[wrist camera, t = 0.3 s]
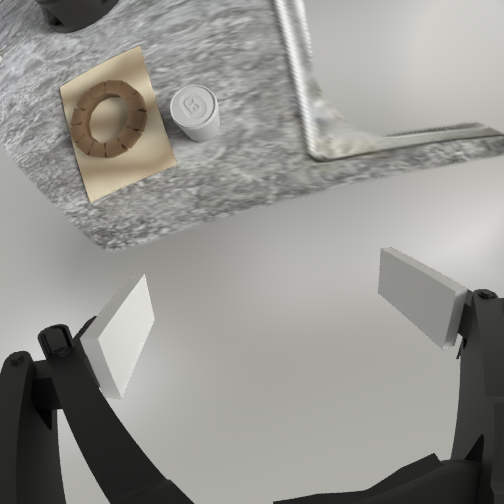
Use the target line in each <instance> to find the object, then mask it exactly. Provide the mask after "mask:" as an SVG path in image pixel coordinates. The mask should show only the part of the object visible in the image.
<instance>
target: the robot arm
mask: <svg viewBox="0 0 504 504" xmlns="http://www.w3.org/2000/svg"><path fill="white" fill-rule="evenodd" d="M36 1H37V2H38V3H39V4H40V6H41V9H42V12H43V14H44V17H45V20H46V22H47V23H48V25H49V26H51V27H52V28H53V29H55V30H56V31H58V32H62V33H68V32H74V31H78V30H81V29H83V28H85V27H87V26H89V25H91V24H93V23H95V22H96V21H98V20H99V19H100V18H102V17H103V16H104V15H106V14H107V13H108V12H109V11H110V10H111V9H112V8H113V7H114V6H115V5H116V4H117V2H118V1H119V0H36ZM378 293H379V294H380V295H381V296H383V298H385V299H386V300H387V301H388V302H389V303H391V304H392V305H393V306H394V307H395V308H396V309H398V310H399V311H400V312H401V313H402V314H403V315H404V316H406V317H407V318H408V319H409V320H410V321H411V322H413V323H414V324H415V325H416V326H417V327H418V328H419V329H420V330H421V331H422V332H424V333H425V334H426V335H427V336H428V337H429V338H430V339H431V340H432V341H433V342H435V343H436V344H437V345H438V346H439V347H440V348H441V349H442V350H443V349H446V348H449V347H451V346H454V345H455V342H456V338H457V334H458V333H459V334H460V335H461V336H462V337H463V338H462V342H461V345H460V348H459V352H458V355H457V358H456V359H459V356H461V363H460V389H459V404H458V413H457V422H456V429H455V436H454V443H453V449H452V454H451V458H450V460H443V461H439V460H438V457H437V456H436V455H435V453H433V454H431V455H429V456H427V457H425V458H422V459H420V460H418V461H416V462H413V463H411V464H409V465H407V466H404V467H402V468H400V469H399V470H397V471H396V472H395V473H393V474H392V475H390V476H388V477H387V478H385V479H384V480H382V481H381V482H379V483H378V484H376V485H374V486H373V487H371V488H369V489H367V490H364V491H356V492H343V493H325V494H315V495H310V496H305V497H299V498H294V499H289V500H282V501H275V502H273V504H504V298H498V296H497V295H496V294H495V293H494V292H492V291H490V290H487V289H479V290H475V291H474V292H472V291H470V290H468V288H466V287H465V286H463V285H461V284H459V283H457V282H455V281H454V280H452V279H450V278H449V277H447V276H445V275H443V274H441V273H440V272H437V271H436V270H434V269H432V268H430V267H428V266H427V265H425V264H423V263H421V262H419V261H417V260H415V259H413V258H411V257H409V256H407V255H406V254H404V253H402V252H399V251H398V250H396V249H394V248H392V247H391V248H382V249H381V254H380V275H379V287H378ZM154 320H155V318H154V314H153V311H152V306H151V301H150V297H149V292H148V288H147V284H146V278H145V274H136V275H131V276H130V278H129V279H128V280H127V281H126V282H125V283H124V284H123V286H122V287H121V288H120V289H119V290H118V292H117V293H116V294H115V295H114V296H113V298H112V299H111V300H110V301H109V303H108V304H107V305H106V306H105V307H104V309H103V310H102V311H101V312H100V314H99V315H98V316H94V317H93V318H91V319H90V320H88V321H87V322H86V323H85V324H84V326H83V328H81V329H80V331H79V333H77V334H76V336H75V337H74V338H72V336H71V333H70V330H69V327H68V326H66V325H63V324H58V325H53V326H50V327H48V328H45V329H44V330H42V331H41V332H40V333H39V335H38V341H39V343H40V345H41V348H42V350H43V353H44V355H45V357H46V360H41V361H34V362H33V360H32V357H31V355H30V353H28V352H26V351H19V352H14V353H13V354H10V355H9V357H8V358H6V360H5V361H4V364H3V367H2V370H1V373H0V504H66V500H65V494H64V489H63V482H62V475H61V466H60V457H59V445H58V428H57V409H63V411H64V414H65V416H66V419H67V421H68V424H69V426H70V428H71V431H72V433H73V435H74V437H75V440H76V442H77V444H78V446H79V448H80V450H81V452H82V454H83V456H84V458H85V460H86V462H87V464H88V466H89V468H90V470H91V472H92V473H93V475H94V477H95V479H96V481H97V482H98V484H99V486H100V488H101V489H102V491H103V493H104V494H105V496H106V497H107V499H108V501H109V502H110V504H194V503H193V502H192V501H191V500H190V499H189V498H188V497H187V496H186V495H185V494H184V493H183V492H182V491H181V490H180V489H179V488H178V487H177V486H176V485H175V484H174V483H173V482H172V481H171V480H167V479H166V478H165V477H164V476H163V475H162V474H161V473H160V471H159V470H158V469H157V468H156V467H155V466H154V465H153V463H152V462H151V461H150V460H149V458H148V457H147V456H146V455H145V453H144V452H143V451H142V450H141V448H140V447H139V446H138V445H137V444H136V442H135V441H134V439H133V438H132V437H131V435H130V434H129V433H128V431H127V430H126V429H125V427H124V426H123V424H122V423H121V422H120V420H119V419H118V417H117V416H116V415H115V413H114V411H113V410H112V408H111V407H110V405H109V404H108V402H107V401H106V399H105V398H114V399H122V398H123V395H124V392H125V390H126V387H127V385H128V382H129V380H130V377H131V375H132V372H133V369H134V367H135V365H136V362H137V360H138V357H139V355H140V353H141V350H142V348H143V346H144V343H145V341H146V339H147V336H148V334H149V332H150V329H151V327H152V325H153V322H154ZM99 387H100V389H101V391H102V393H103V394H102V393H101V391H100V389H99ZM103 395H104V396H103Z"/></svg>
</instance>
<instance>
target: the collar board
mask: <svg viewBox="0 0 504 504" xmlns="http://www.w3.org/2000/svg"><path fill="white" fill-rule="evenodd" d="M60 91H61V96H62V101H63V106H64V111H65V115H66V120H67V124H68V128H69V132H70V136H71V140H72V144H73V148H74V151H75V155H76V158H77V162H78V165H79V169H80V172H81V175H82V178H83V182H84V185H85V188H86V191H87V194H88V197H89V200H90V203H91V202H93V201H95V200H98V199H100V198H102V197H104V196H106V195H108V194H110V193H112V192H114V191H117V190H119V189H121V188H123V187H125V186H128V185H130V184H132V183H134V182H137V181H139V180H141V179H144V178H146V177H148V176H151V175H153V174H155V173H158V172H160V171H163V170H165V169H168V168H170V167H173V166H175V165H177V163H176V160H175V157H174V154H173V151H172V148H171V145H170V142H169V139H168V136H167V133H166V130H165V127H164V124H163V121H162V118H161V115H160V112H159V108H158V105H157V102H156V99H155V96H154V92H153V89H152V86H151V83H150V79H149V76H148V73H147V69H146V66H145V63H144V59H143V56H142V52H141V49H140V46H137V47H135V48H133V49H130V50H128V51H126V52H124V53H122V54H120V55H117V56H115V57H113V58H111V59H109V60H107V61H105V62H103V63H101V64H100V65H98V66H96V67H94V68H92V69H90V70H88V71H87V72H85V73H83V74H81V75H80V76H78V77H76V78H75V79H73V80H71V81H70V82H68V83H66V84H65V85H63V86H62V87H60Z"/></svg>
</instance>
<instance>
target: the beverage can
mask: <svg viewBox="0 0 504 504" xmlns="http://www.w3.org/2000/svg"><path fill="white" fill-rule="evenodd" d="M170 113H171V117H172V119H173V121H174V122H175V123H176V124H177V125H178V126H179V127H180V128H181V129H182V130H183V131H184V132H185V133H186V134H187V135H188V136H189V137H190V138H191V139H192V140H194V141H198V142H205V141H209V140H210V139H212V138H214V137H215V136H216V134H217V133H218V131H219V128H220V118H219V109H218V103H217V99H216V97H215V95H214V94H213V92H211V91H210V90H209V89H208V88H206V87H204V86H202V85H197V84H195V85H188V86H185V87H183V88H181V89H179V90H178V91H177V92H176V93H175V95H174V96H173V98H172V100H171V103H170Z"/></svg>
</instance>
